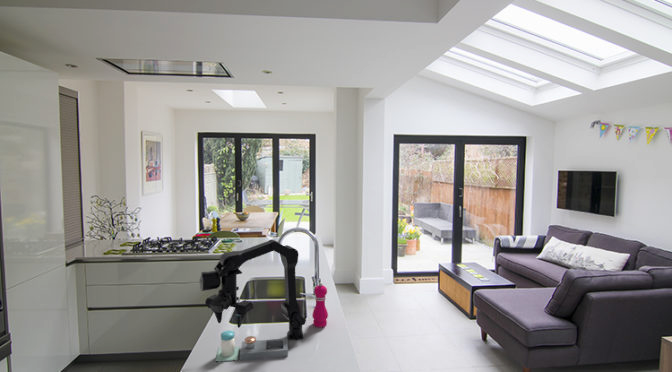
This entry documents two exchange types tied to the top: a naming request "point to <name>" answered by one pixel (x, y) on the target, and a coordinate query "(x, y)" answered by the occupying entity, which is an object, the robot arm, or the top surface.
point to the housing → (264, 349)
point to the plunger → (250, 342)
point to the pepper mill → (320, 306)
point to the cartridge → (227, 343)
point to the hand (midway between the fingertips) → (229, 325)
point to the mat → (231, 358)
